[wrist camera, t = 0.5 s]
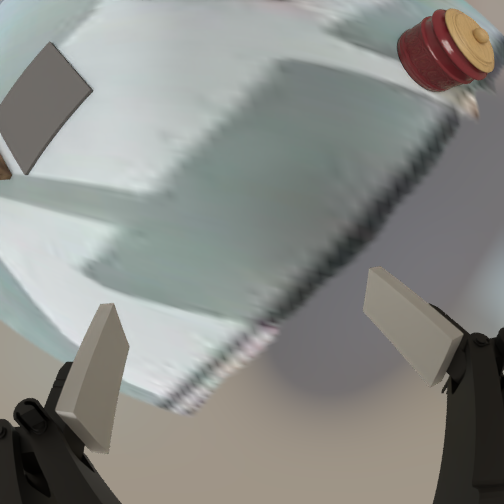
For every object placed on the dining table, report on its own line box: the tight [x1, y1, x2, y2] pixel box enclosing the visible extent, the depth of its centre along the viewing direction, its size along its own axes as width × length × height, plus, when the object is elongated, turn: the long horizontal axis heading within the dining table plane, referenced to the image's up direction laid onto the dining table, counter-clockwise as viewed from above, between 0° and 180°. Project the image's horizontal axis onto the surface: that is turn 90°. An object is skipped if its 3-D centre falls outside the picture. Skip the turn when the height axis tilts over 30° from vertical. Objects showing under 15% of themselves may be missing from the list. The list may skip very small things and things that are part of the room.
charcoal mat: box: [0, 42, 93, 175], centre depth 30 cm, size 18×18×1 cm
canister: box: [397, 9, 494, 91], centre depth 25 cm, size 13×13×18 cm
